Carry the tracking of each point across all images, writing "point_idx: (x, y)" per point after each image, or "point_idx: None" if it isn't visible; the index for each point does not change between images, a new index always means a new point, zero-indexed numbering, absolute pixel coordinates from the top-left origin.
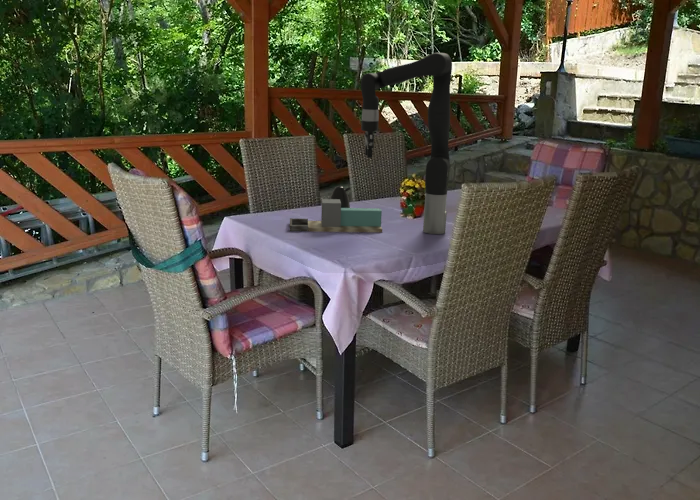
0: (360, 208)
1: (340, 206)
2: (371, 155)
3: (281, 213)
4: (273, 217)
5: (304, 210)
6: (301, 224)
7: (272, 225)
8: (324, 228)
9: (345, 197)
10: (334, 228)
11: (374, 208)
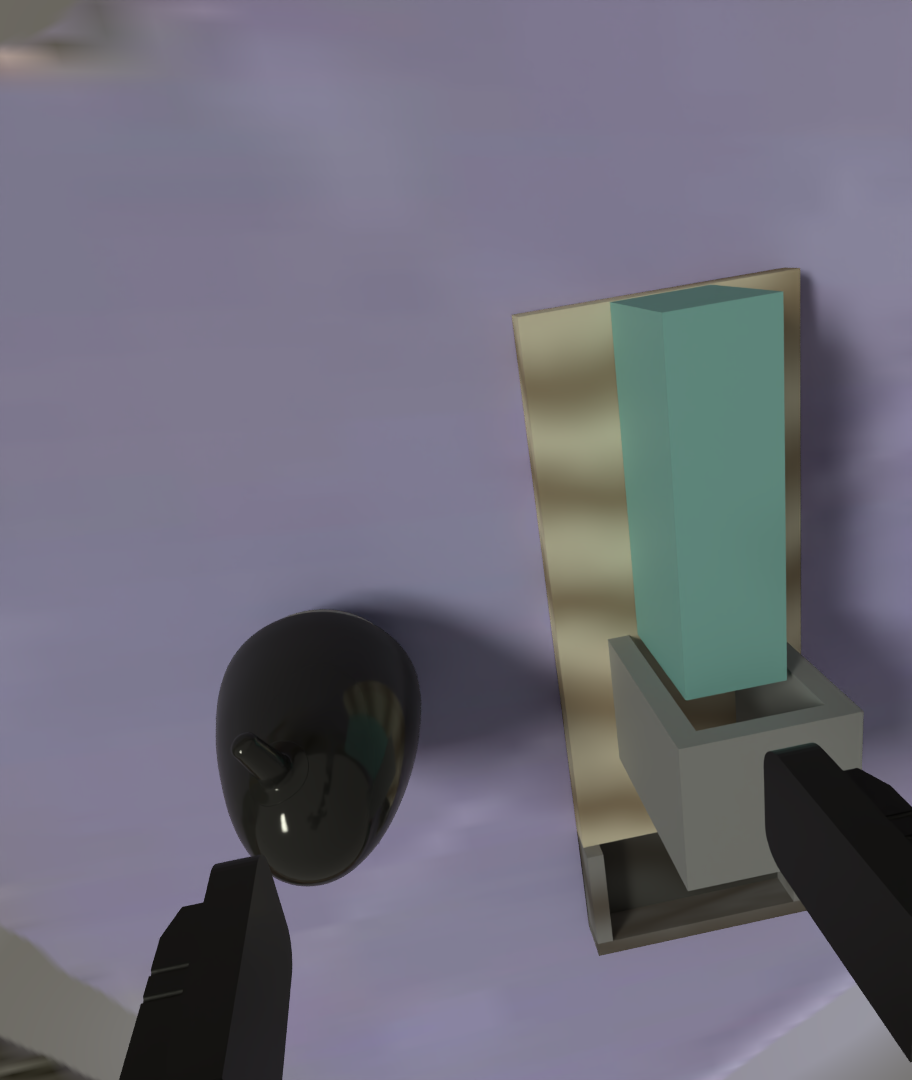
0: (688, 519)
1: (845, 699)
2: (893, 789)
3: (298, 1036)
4: (433, 1045)
5: (139, 937)
6: (622, 860)
7: (650, 995)
8: None
9: (370, 719)
10: (800, 644)
11: (671, 377)
